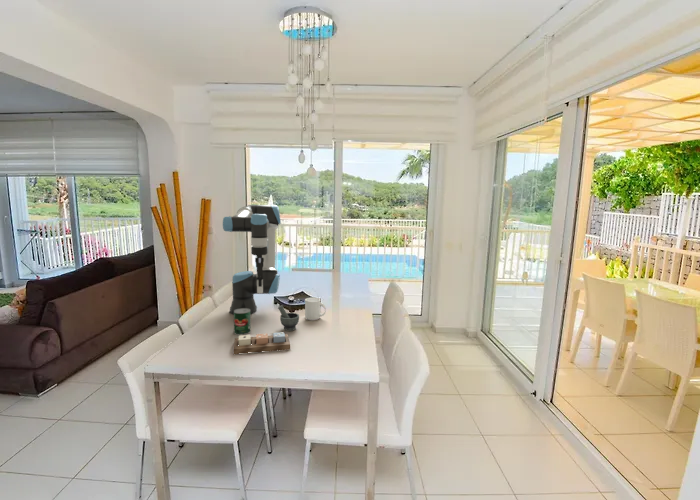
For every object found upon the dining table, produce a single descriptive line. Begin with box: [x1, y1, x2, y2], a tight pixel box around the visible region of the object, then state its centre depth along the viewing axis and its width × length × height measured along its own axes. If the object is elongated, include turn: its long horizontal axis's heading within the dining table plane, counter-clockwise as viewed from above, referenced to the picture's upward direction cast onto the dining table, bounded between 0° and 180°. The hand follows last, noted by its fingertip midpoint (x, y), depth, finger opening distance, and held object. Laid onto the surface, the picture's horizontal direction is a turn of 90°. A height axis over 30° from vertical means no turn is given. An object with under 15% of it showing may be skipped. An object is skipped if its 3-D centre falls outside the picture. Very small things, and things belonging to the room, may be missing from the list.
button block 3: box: [272, 331, 285, 343], centre depth 160 cm, size 5×5×3 cm
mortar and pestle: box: [277, 304, 300, 332], centre depth 180 cm, size 11×9×12 cm
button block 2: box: [255, 332, 269, 344], centre depth 158 cm, size 5×5×3 cm
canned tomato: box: [233, 308, 252, 336], centre depth 174 cm, size 8×8×11 cm
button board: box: [232, 333, 291, 355], centre depth 158 cm, size 24×12×2 cm, turn 106°
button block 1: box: [238, 334, 252, 346], centre depth 156 cm, size 5×5×3 cm
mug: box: [304, 297, 327, 321], centre depth 197 cm, size 9×12×11 cm
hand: (259, 289), depth 171 cm, fingers open, 13 cm apart
